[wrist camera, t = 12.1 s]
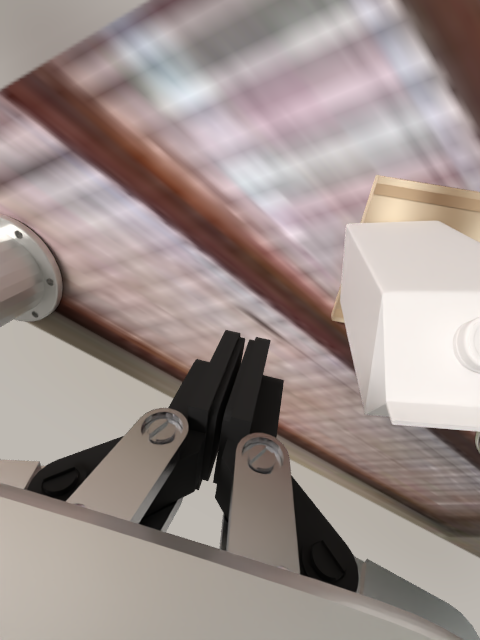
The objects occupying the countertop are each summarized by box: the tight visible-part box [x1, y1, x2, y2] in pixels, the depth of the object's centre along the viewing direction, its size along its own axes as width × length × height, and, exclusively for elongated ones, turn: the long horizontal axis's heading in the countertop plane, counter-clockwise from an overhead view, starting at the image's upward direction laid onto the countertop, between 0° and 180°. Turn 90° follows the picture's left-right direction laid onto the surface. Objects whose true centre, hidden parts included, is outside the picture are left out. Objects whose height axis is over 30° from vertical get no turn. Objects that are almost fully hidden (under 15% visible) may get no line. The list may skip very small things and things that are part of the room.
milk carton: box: [340, 221, 480, 432], centre depth 19 cm, size 7×7×19 cm
